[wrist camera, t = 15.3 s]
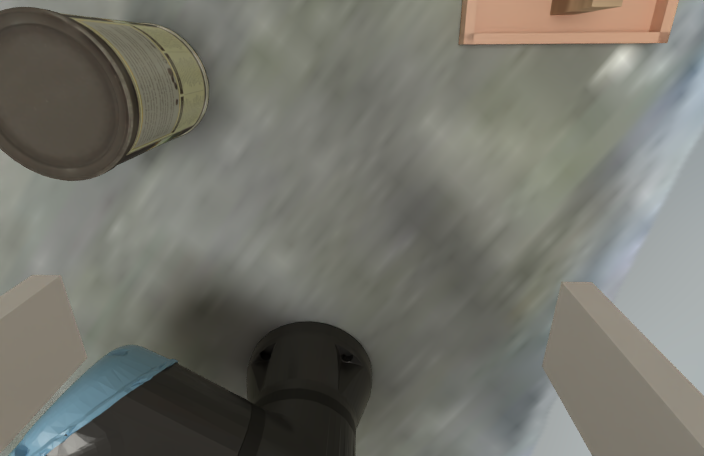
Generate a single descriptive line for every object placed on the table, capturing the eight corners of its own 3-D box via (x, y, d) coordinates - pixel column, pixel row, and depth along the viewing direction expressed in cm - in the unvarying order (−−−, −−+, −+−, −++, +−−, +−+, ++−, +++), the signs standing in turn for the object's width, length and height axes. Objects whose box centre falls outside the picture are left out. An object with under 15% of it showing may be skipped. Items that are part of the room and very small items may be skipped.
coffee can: (167, 160, 41) (76, 211, 28) (78, 81, 38) (-68, 96, 25) (233, 86, 38) (164, 105, 25) (142, -6, 35) (12, -38, 22)
